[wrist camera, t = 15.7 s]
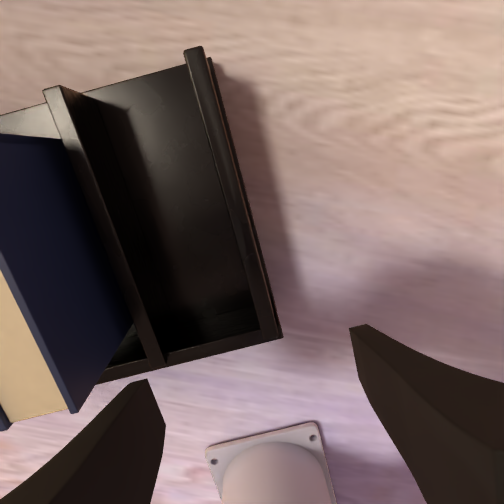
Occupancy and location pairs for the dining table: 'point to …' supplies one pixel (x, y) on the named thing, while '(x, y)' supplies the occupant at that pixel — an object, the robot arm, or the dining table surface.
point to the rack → (165, 211)
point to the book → (51, 285)
